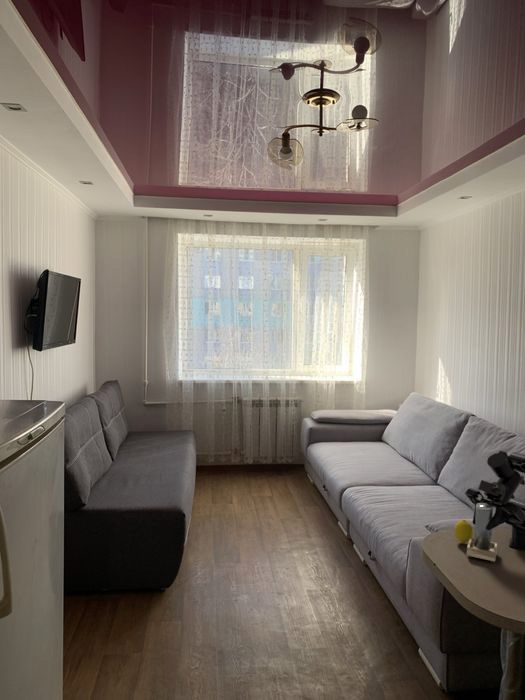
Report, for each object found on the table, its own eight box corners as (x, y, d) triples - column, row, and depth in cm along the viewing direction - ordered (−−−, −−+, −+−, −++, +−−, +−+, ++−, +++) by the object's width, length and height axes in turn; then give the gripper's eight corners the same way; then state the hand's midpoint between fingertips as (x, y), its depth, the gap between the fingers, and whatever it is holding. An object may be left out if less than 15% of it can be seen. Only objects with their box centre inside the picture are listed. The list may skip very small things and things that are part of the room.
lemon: (454, 545, 170) (455, 521, 169) (453, 539, 175) (454, 515, 175) (472, 548, 168) (474, 524, 168) (471, 541, 174) (472, 517, 173)
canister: (474, 542, 166) (476, 501, 165) (491, 545, 163) (493, 504, 163) (473, 547, 161) (475, 506, 161) (490, 551, 159) (492, 509, 158)
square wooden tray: (469, 548, 168) (469, 537, 168) (496, 553, 165) (497, 543, 164) (466, 558, 161) (467, 547, 161) (494, 564, 157) (495, 553, 157)
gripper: (470, 463, 171) (444, 501, 167) (521, 479, 155) (494, 522, 150) (485, 484, 175) (460, 521, 171) (537, 501, 159) (511, 544, 154)
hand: (480, 526), depth 161 cm, fingers closed on canister, 5 cm apart
